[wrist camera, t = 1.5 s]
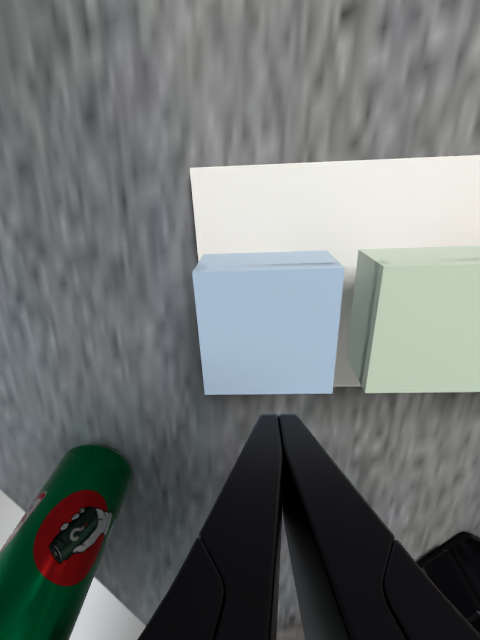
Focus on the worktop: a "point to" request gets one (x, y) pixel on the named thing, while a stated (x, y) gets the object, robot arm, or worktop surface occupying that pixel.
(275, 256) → the key blue
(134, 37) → the worktop surface
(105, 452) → the soda can
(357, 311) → the key sage
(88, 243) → the worktop surface
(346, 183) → the keypad
